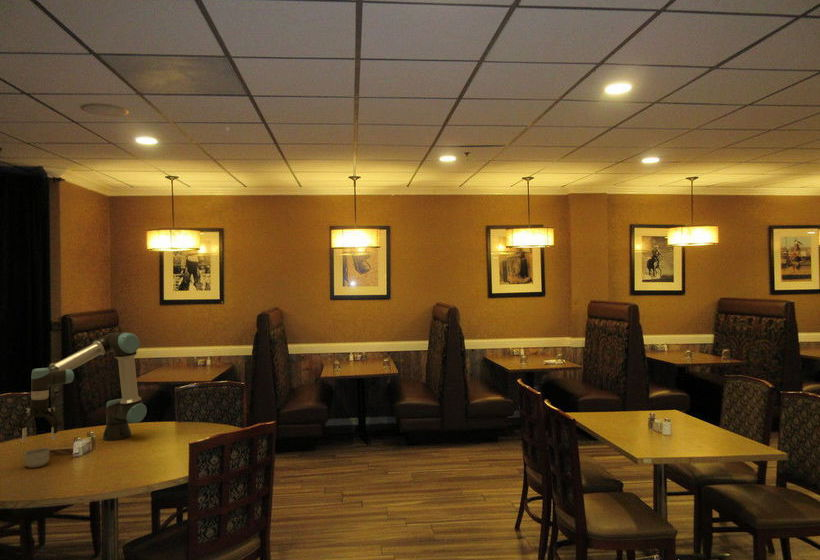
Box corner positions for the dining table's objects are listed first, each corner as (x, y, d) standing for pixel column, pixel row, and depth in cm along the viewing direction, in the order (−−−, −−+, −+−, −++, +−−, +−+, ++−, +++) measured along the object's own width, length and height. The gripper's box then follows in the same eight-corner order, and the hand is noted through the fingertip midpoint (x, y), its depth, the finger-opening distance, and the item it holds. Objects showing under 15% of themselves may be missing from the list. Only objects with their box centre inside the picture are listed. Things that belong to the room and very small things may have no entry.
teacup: (36, 470, 267) (36, 453, 268) (18, 468, 270) (18, 452, 270) (59, 461, 281) (59, 446, 281) (42, 460, 283) (42, 444, 283)
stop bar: (79, 452, 296) (79, 446, 296) (77, 454, 293) (77, 448, 294) (35, 454, 292) (35, 448, 293) (32, 456, 290) (32, 450, 290)
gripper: (8, 400, 270) (7, 443, 270) (62, 399, 274) (61, 441, 274) (17, 398, 278) (16, 439, 277) (69, 396, 282) (68, 437, 281)
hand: (38, 440), depth 275 cm, fingers open, 13 cm apart
